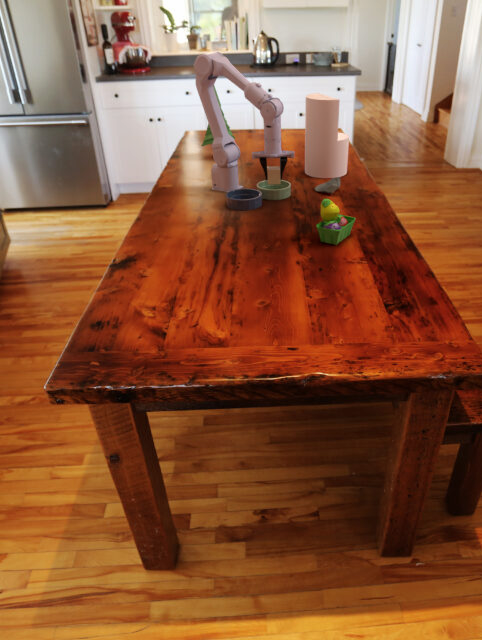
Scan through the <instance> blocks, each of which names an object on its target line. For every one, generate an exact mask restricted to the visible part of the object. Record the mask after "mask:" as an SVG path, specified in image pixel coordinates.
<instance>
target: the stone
mask: <svg viewBox="0 0 482 640" xmlns="http://www.w3.org/2000/svg"><path fill="white" fill-rule="evenodd" d="M340 187H341V177H336V178H330V180H327V181H326V182H323V183H320V184H317V186H315V187H314V190H315V192H318V193H322V194H329V195H333V194H334V193H335V192H336V191H337V190H339V188H340Z"/></svg>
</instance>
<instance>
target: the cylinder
mask: <svg viewBox="0 0 482 640" xmlns="http://www.w3.org/2000/svg"><path fill="white" fill-rule="evenodd" d="M304 117H305V119H304V120H305V121H304V123H305V125H304V127H305V128H304V174H305V175H307V176H309V177H312V178H318V179H333V178H336V177H340V178H341V177H344V176H345V175H347V173H348V164H349V163H348V162H349V145H350V135H349V134H348V133H344V132H339V121H340V120H339V117H340V99H339V98H335V97H332V96H329V95H325V94H324V93H319V92H316V93H315V92H314V93H309V94H306V95H305V116H304Z"/></svg>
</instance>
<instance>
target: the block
mask: <svg viewBox="0 0 482 640" xmlns="http://www.w3.org/2000/svg"><path fill="white" fill-rule="evenodd" d="M267 175H268V185H271V184H280V165H279V166H278V165H277V166H276V165H273V166H267Z"/></svg>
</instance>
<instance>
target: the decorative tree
mask: <svg viewBox="0 0 482 640" xmlns="http://www.w3.org/2000/svg"><path fill="white" fill-rule="evenodd" d="M213 88H214V91H215V94H216V97H217V100H218V103H219V106H220V109H221V112H222V115H223V119H224V122H225V125H226V128H227V131H228V134H229V135H230V136H231V137H233V138H234V140H235V139H236V136H235V135H233V132H232V130H231V126H230V125H229V124H228V121H227V119H226V118H225V113H224V111H223V109H222V103H221V101H220V98H219V95H218V92H217V89H216V87H215V85H214V86H213ZM213 141H214V138H213V135H212V132H211V129H210V126H209V123H208V122H207V127H206V131H205V134H204V137H203V140H202V144H201V147H204V146H208V145H212V144H213Z"/></svg>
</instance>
